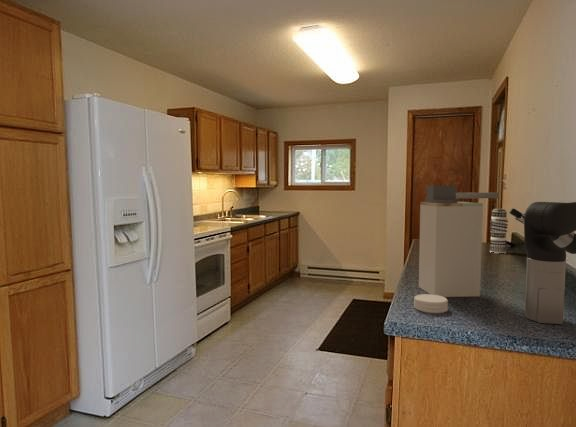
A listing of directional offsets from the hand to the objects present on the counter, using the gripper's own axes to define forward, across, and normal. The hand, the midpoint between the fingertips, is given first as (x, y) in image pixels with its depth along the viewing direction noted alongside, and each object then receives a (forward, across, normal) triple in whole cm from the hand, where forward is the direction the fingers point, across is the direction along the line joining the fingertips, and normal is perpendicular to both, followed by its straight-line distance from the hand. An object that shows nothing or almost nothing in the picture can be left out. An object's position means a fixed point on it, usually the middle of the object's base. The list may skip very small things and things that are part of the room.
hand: (518, 211), depth 141 cm
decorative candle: (-51, -80, +4) cm, 95 cm away
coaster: (+20, +19, +45) cm, 53 cm away
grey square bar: (+19, 0, +7) cm, 21 cm away
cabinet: (+7, 0, +38) cm, 38 cm away
